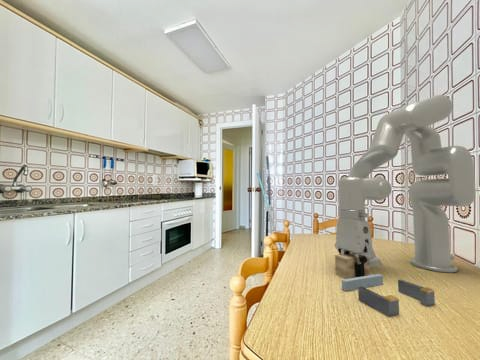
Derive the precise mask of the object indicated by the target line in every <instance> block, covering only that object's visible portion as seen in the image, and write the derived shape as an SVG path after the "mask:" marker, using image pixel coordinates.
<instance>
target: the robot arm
mask: <svg viewBox="0 0 480 360" xmlns="http://www.w3.org/2000/svg"><path fill="white" fill-rule="evenodd" d="M453 105H454V104H453V103H452V99H451V98H449V97H448V96H446V95H443V94H436V95H434V96H431V97H429V98H426V99H423V100H420V101H416V102H414V103H410V104H409V105H406V106H402V107H400V108H398V109H396V110H393V111H390V112H388V113H386V114H384V115H383V116H381V118H380V119H379V121H378V123H377V126H376V128H375V130H374V134H373V138H372V140H371V142H370V145H369V147H368V150H366V152H365V153H364V154H362V156H361V157H360V158H359V159H358V160H357V161H356V162H355V163H354V165H353V166H352V167H351V169H350V170H349V173H348V175H347V176H346V177H342V178H339V180H338V218H337V223H336V228H335V229H336V233H335V234H336V235H335V243H334V248H335V249H336V250H337V252H338V254H339V253H340V255H342V254H350V252H353V253H355V257H356V262H357V263H355V276H356V277H362V276H364V264H365V263H366V262H367V261H368V260H369V259H372V258H374V257H375V256H374V254H373V252H372V248H373V240H372V239H373V238H372V233H371V232H372V231H371V227H370V223H369V221H368V220H366V218H368V216H369V214H368V213H367V212H366V201H382V200H385V199H387V198H388V197H389V196H390V195H391V194H392V191H393V190H392V189H393V188H392V186H391V183H390V181H388V180H387V179H386V178H383V177H380V176H379V177H378V176H377V177H376V176H375V177H369V175H370V174H371V173H372V172H374V171H375V170H376V169H377V168H379V167H381V166H383V165H385V164H386V163H388V162H390V161H392V160H393V159H394V158H396V157H397V155H398V153H399V150H400V146H401V143H402V140H403V137H404V135H405V136H406V137H407V139H408V140H409V144H410V154H411V155H410V156H411V167H412V170H413V173H414V174H415V175H417V176H420V177H421V176H423V177H428V176H429V177H431V176H444V175H447V178H431V179H420V180H417V181H414V182H412V183H411V184H410V185H409V186H408V187H409V188H408V197H409V200H410V203H411V207H412V209H411V210H412V220H413V238H414V239H413V241H414V242H413V243H414V257H413V258H410V259H409V262H410V264H411V265H413V266H415V267H417V268H421V269H425V270H430V271H433V272H440V273H456V272H458V267H457V266H456V265H454V264H452V261H453V260H455V259H456V257H455V256H454V255H453V254H451V246H450V245H451V244H450V242H451V241H450V240H451V239H450V227H449V225H450V223H449V218H448V215H447V213H446V211H444V210H443V209H442V208H441V207H467V206H470V205H471V204H473V202H475V199H476V196H477V195H476V194H477V192H476V190H477V189H476V179H475V167H474V159H473V156H472V154H471V152H470V150H468V148H466V147H464V146H461V145H450V146H444V147H442V142H441V140H442V139H441V136H440V135H441V134H440V133H439V132H438V131H437V130H436V129H434V128H433V127H431V126H432V125H434V124H436V123H439V122H441V121H443V120H445V119H447V118H448V117H449V116H450V115H451V113H452V112H453ZM345 251H346V252H345ZM365 253H366V255H365ZM360 255H361V258H360Z"/></svg>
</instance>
